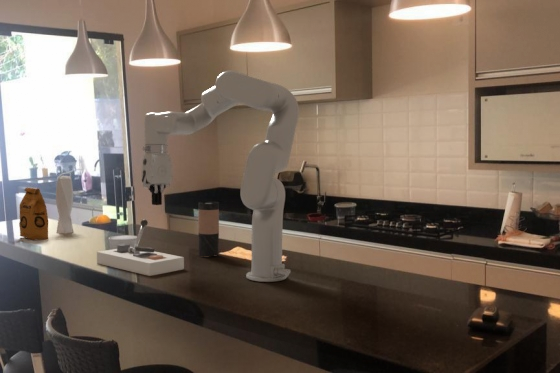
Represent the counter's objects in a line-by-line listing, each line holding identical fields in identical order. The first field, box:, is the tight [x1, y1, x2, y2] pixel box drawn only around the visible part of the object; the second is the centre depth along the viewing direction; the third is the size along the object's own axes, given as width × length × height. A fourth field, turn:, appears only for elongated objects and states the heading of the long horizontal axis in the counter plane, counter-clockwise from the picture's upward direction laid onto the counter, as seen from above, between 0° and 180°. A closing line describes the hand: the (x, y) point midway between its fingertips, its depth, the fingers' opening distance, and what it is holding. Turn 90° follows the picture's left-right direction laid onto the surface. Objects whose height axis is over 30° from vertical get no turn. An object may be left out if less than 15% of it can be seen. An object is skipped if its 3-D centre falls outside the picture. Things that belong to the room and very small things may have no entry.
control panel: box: [96, 247, 185, 277], centre depth 194 cm, size 29×14×6 cm, turn 50°
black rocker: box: [135, 246, 155, 252], centre depth 192 cm, size 3×5×1 cm, turn 140°
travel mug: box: [197, 201, 220, 257], centre depth 214 cm, size 8×8×20 cm
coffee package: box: [18, 187, 49, 241], centre depth 249 cm, size 10×12×22 cm
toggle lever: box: [130, 219, 149, 253], centre depth 197 cm, size 2×2×12 cm
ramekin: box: [107, 234, 138, 250], centre depth 223 cm, size 11×11×5 cm
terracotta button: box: [150, 255, 163, 260], centre depth 188 cm, size 4×4×3 cm
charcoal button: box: [117, 244, 130, 253], centre depth 199 cm, size 4×4×3 cm
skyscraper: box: [55, 171, 74, 235], centre depth 266 cm, size 8×8×28 cm
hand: (156, 204), depth 193 cm, fingers closed
